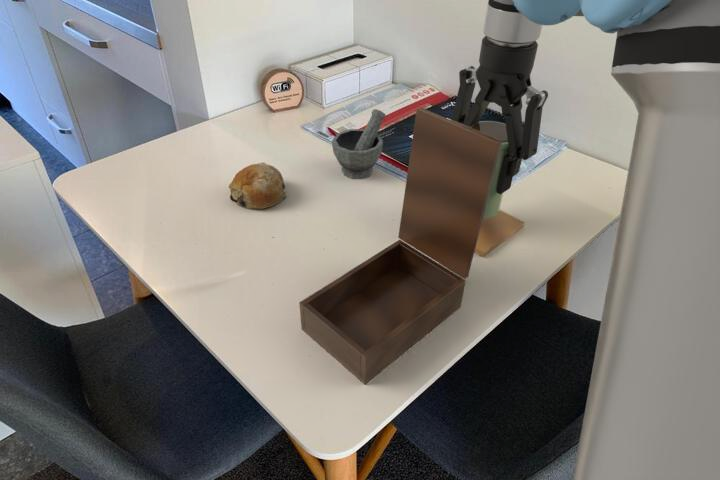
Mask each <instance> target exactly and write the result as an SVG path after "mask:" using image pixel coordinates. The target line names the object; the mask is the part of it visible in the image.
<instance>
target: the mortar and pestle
mask: <svg viewBox="0 0 720 480" xmlns="http://www.w3.org/2000/svg"><path fill="white" fill-rule="evenodd" d="M386 117H387V114H386V113H384V112H383V111H381V110H380V109H377V108H374V109H372V111H371V115H370V118H369V119H368V121H367V124H366V126H365V128H359V129H358V128H350V129H346V130H343V131H339V132H337V133H336V134H335V136H334V137H333V138H332V140H331V147H332V152H333V154H334V156H335V158H336V160H337V162H338V163H339V165H340V167H341V172H342V174H343V176H344V177H346V178H349V179H351V180H364V179H366V178H368V177H371V176H372V173H373V172H374V169H373V168H374V166H375V165H376V163H377V162H378V160H379V158H380V157H381V155H382V152H383V148H384V140H383V138H381V136H380V135H379V132H380V131H379V130H380V129H381V125H382V123H383V120H385V119H386Z"/></svg>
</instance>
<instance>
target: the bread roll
mask: <svg viewBox="0 0 720 480" xmlns="http://www.w3.org/2000/svg"><path fill="white" fill-rule="evenodd" d="M284 181H285V180H284V177H283V175H282V173H281V171H280V170H279V169H278V168H277V167H275V166H273V165H271V164H267V163H266V162H258V163H252V164H249V165H247V166H245V167H243V168H242V169H240V170H239V171H238V172H236V174H235V175H234V177H233V179H232V181H231V183H230V184H229V185H228V188H229V190H230V191H229V192H230V195H229V200H230V201H231V202H233V203H236V204H237V206H239V207H242V208H245V209H249V210H264V209H266V208H270V207H274V206H276V205H278V204H280V203H281V202H282V201H283V199H286V198H287V195H288V193H287V191H285V188H286V186H285V182H284Z"/></svg>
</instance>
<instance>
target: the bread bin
mask: <svg viewBox="0 0 720 480" xmlns="http://www.w3.org/2000/svg"><path fill="white" fill-rule="evenodd" d="M466 282H467V280H466V279H464V278H462V277H461V276H459V275H458V274H456V273H454V272H453V271H451V270H449V269H448V268H446V267H445V266H443V265H441V264H440V263H438V262H437V261H435V260H433V259H432V258H430V257H429V256H427V255H425V254H424V253H422V252H420V251H419V250H417V249H416V248H414V247H412V246H411V245H409V244H408V243H406V242H404V241H403V240H401V239H398V240H396V241H394V242H393V243H392V244H390V245H388V246H387V247H385V248H384V249H382V250H380V251H379V252H377V253H375V254H374V255H372V256H371V257H369V258H367V259H365V260H364V261H363V262H361V263H359V264H358V265H357V266H355V267H353V268H352V269H350V270H349V271H347V272H346V273H344V274H342V275H341V276H339V277H338V278H336V279H334V280H333V281H331V282H329V283H328V284H326V285H325V286H323V287H322V288H320V289H318V290H316V291H315V292H314V293H312V294H310V295H309V296H307V297H306V298H304V299H302V300H300V301H299V315H300V316H299V317H300V327H301V330H302V331H303V332H304V333H305V334H306V335H307V336H309V337H310V338H311V340H313V341H314V342H315V343H316V344H318V345H319V346H320V348H322V349H323V350H324V351H325V352H327V353H328V354H329V355H330V356H331V357H333V358H334V359H335V360H336V361H337V362H338V363H340V365H342V366H343V367H344V369H346V370H348V371H349V372H350V373H351V374H352V375H353V376H354V377H355V378H357V379H358V380H359V381H360V382H361V383H362V384H363V385H367V384H368V383H369V382H371V380H373V379H374V378H375V377H377V376H378V375H379V374H380V373H381V372H383V371H384V370H385V369H387V367H388V366H391V364H392V363H394V362H395V361H396V360H397V359H399V358H400V357H401V356H402V355H404V354H405V353H407V351H408V350H409V349H412V347H413V346H415V345H416V344H417V343H419V342H420V341H421V340H422V339H423V338H425V336H427V335H428V334H430V333H431V332H433V330H434V329H436V328H437V327H438V326H439V325H441V324H442V323H443V322H444V321H445V320H447V319H448V318H449V317H450V316H452V315H454V313H455V312H456V311H458V310H459V309H460V308H461V307H462V302H463V298H464V291H465V288H466V287H465V286H466Z"/></svg>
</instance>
